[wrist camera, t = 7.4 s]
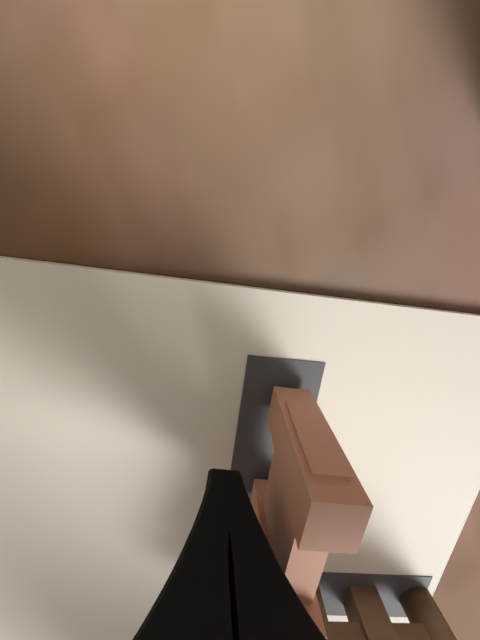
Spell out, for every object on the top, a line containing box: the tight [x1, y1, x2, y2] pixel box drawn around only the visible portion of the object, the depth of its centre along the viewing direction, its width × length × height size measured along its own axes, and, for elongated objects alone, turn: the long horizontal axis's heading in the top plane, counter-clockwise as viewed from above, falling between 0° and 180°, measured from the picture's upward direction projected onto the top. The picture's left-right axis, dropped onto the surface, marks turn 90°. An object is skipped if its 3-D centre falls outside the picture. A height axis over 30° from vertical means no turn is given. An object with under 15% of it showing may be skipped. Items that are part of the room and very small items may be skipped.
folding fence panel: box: [250, 386, 373, 639], centre depth 10 cm, size 10×1×5 cm, turn 171°
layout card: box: [0, 256, 480, 640], centre depth 14 cm, size 22×22×1 cm
